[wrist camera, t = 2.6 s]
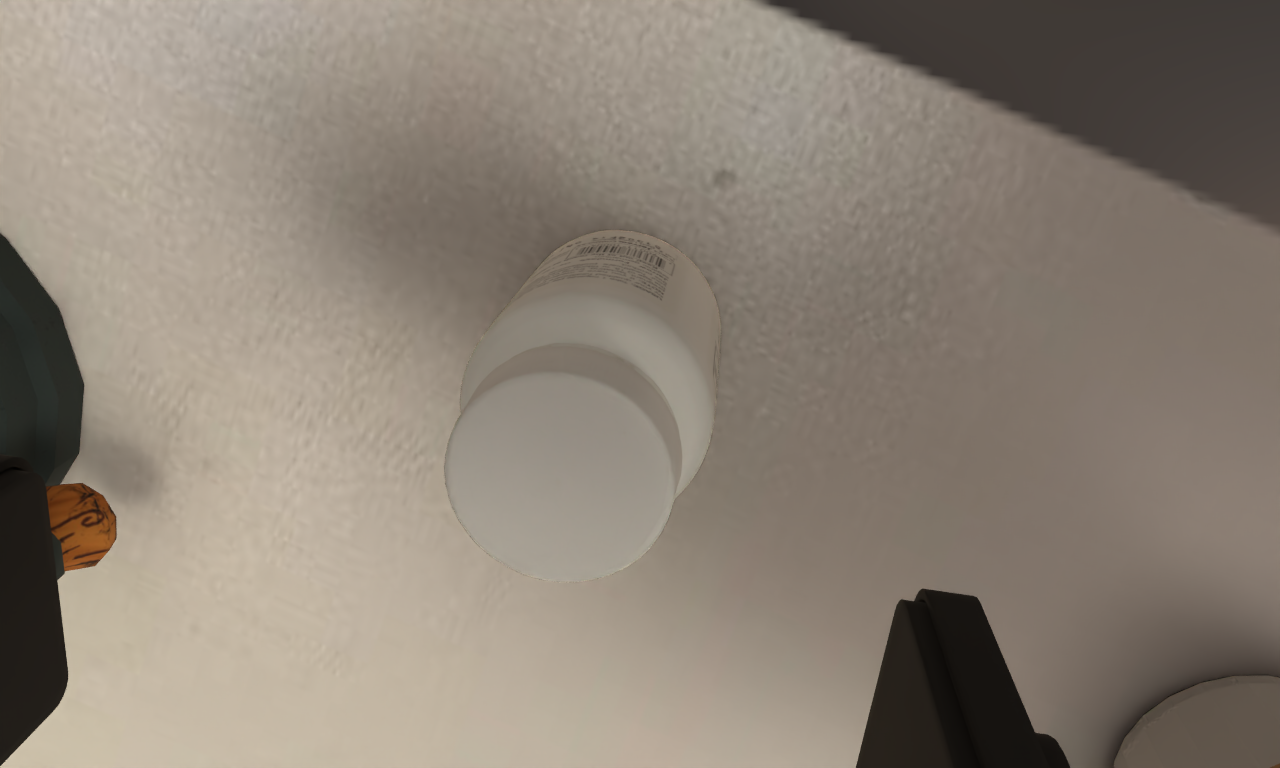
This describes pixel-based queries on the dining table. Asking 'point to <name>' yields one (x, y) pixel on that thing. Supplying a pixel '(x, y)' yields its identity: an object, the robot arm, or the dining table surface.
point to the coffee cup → (1209, 727)
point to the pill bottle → (587, 408)
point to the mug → (47, 413)
